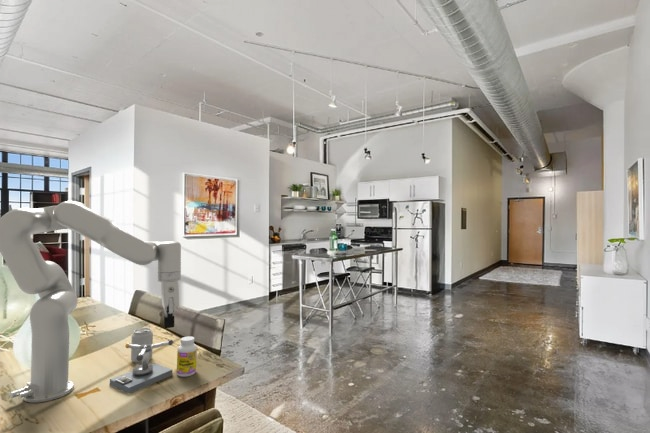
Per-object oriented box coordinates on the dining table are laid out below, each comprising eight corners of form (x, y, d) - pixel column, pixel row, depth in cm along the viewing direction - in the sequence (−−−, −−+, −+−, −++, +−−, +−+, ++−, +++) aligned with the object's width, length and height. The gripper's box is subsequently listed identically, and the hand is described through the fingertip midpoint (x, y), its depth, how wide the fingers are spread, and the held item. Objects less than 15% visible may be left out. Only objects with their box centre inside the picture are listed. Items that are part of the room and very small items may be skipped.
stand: (128, 394, 112) (128, 382, 112) (109, 385, 117) (109, 373, 117) (172, 375, 126) (172, 364, 126) (153, 367, 131) (153, 357, 131)
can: (143, 364, 134) (144, 333, 134) (126, 362, 135) (127, 331, 135) (156, 357, 141) (157, 327, 141) (140, 355, 142) (141, 326, 142)
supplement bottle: (175, 378, 123) (176, 342, 123) (178, 370, 130) (178, 336, 130) (195, 376, 125) (196, 340, 125) (196, 368, 131) (197, 334, 131)
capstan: (173, 364, 129) (174, 339, 129) (139, 385, 113) (139, 356, 113) (143, 360, 132) (143, 335, 133) (105, 379, 116) (106, 351, 116)
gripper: (183, 278, 119) (183, 331, 120) (177, 272, 132) (177, 320, 132) (159, 280, 116) (159, 335, 116) (156, 273, 129) (155, 323, 129)
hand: (169, 327), depth 124 cm, fingers closed
